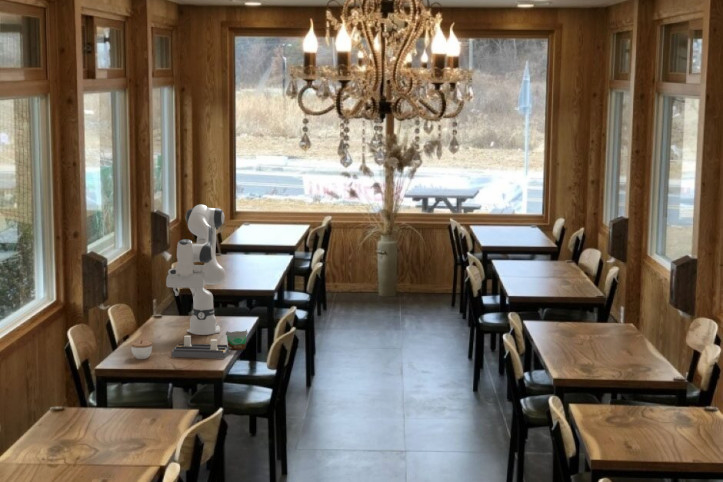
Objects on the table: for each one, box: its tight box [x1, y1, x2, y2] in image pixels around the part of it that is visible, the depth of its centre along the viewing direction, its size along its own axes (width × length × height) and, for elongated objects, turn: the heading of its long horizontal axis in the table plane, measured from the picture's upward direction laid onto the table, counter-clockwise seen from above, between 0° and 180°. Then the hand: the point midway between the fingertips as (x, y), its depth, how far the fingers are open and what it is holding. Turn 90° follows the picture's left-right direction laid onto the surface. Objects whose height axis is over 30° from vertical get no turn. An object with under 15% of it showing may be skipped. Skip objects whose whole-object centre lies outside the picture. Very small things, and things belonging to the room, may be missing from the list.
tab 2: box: [210, 338, 218, 350], centre depth 559 cm, size 3×4×6 cm
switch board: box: [171, 343, 230, 359], centre depth 564 cm, size 13×28×4 cm, turn 87°
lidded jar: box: [130, 339, 153, 360], centre depth 555 cm, size 11×11×9 cm
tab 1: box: [183, 334, 192, 347], centre depth 566 cm, size 3×4×6 cm
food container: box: [225, 328, 249, 352], centre depth 575 cm, size 12×6×10 cm, turn 117°
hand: (185, 295), depth 570 cm, fingers open, 8 cm apart
